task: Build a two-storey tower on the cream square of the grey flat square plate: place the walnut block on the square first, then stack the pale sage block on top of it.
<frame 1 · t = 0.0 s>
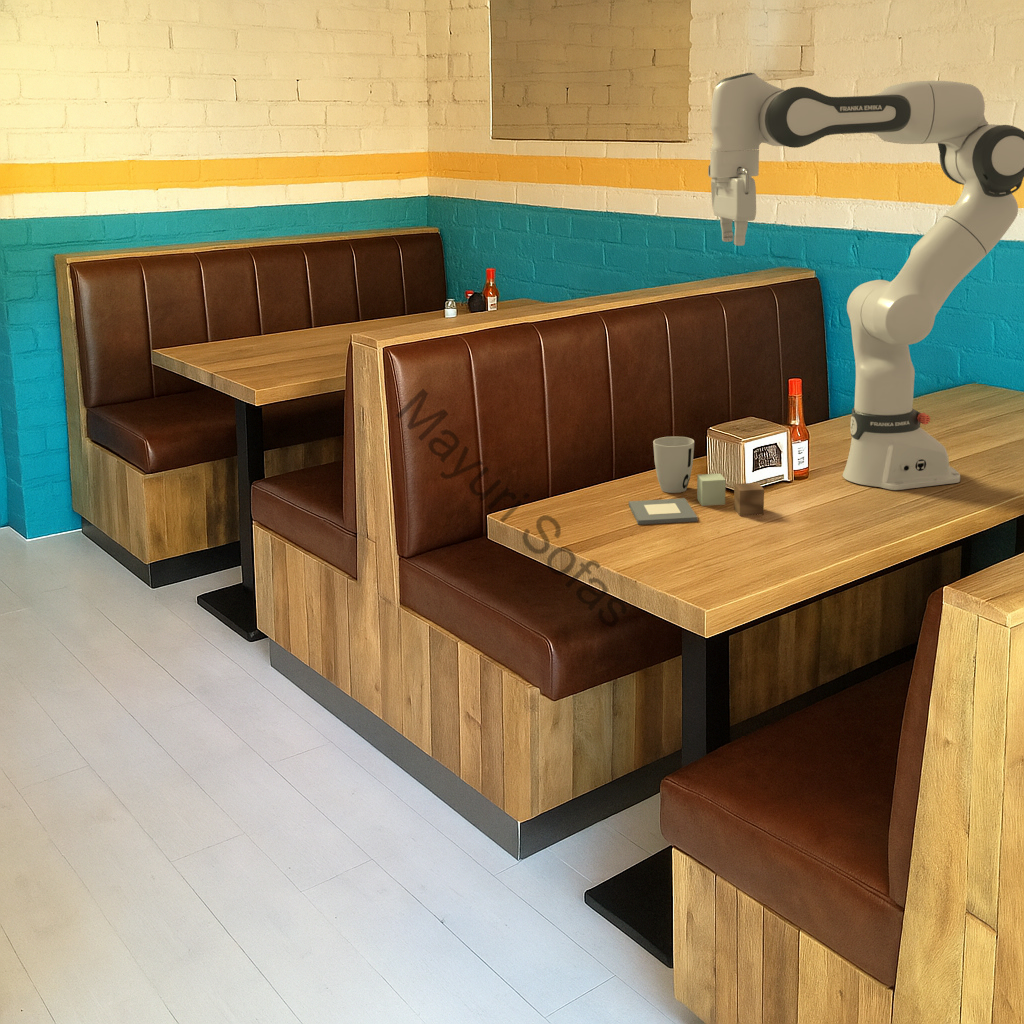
hand: (733, 243, 215), 48 cm above the table, fingers open, 8 cm apart
grey flat square plate: (662, 513, 214), on the table
sage block: (711, 501, 220), on the table
cup: (673, 490, 229), on the table
walnut block: (748, 512, 213), on the table
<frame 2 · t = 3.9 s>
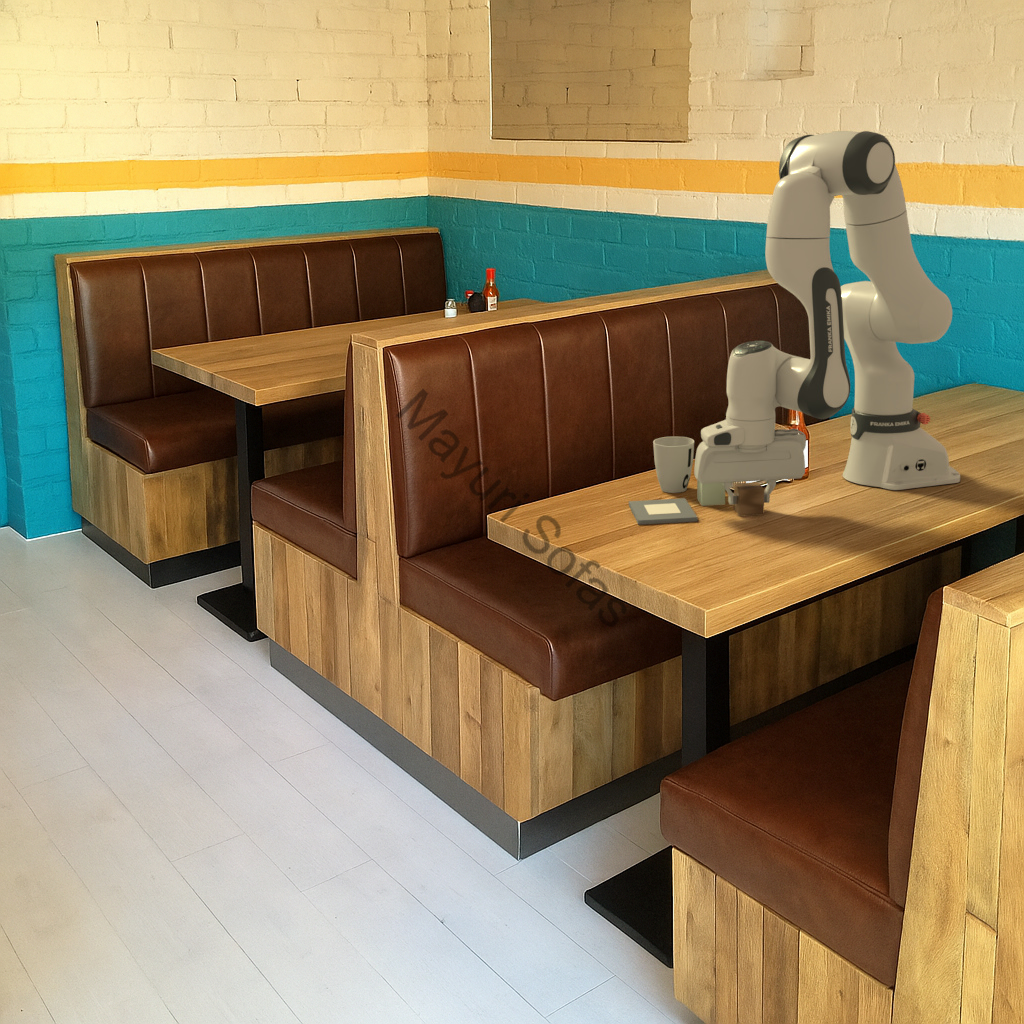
hand: (748, 502, 212), 2 cm above the table, fingers closed on walnut block, 4 cm apart
walnut block: (748, 511, 213), on the table, touching gripper
everything else where it was.
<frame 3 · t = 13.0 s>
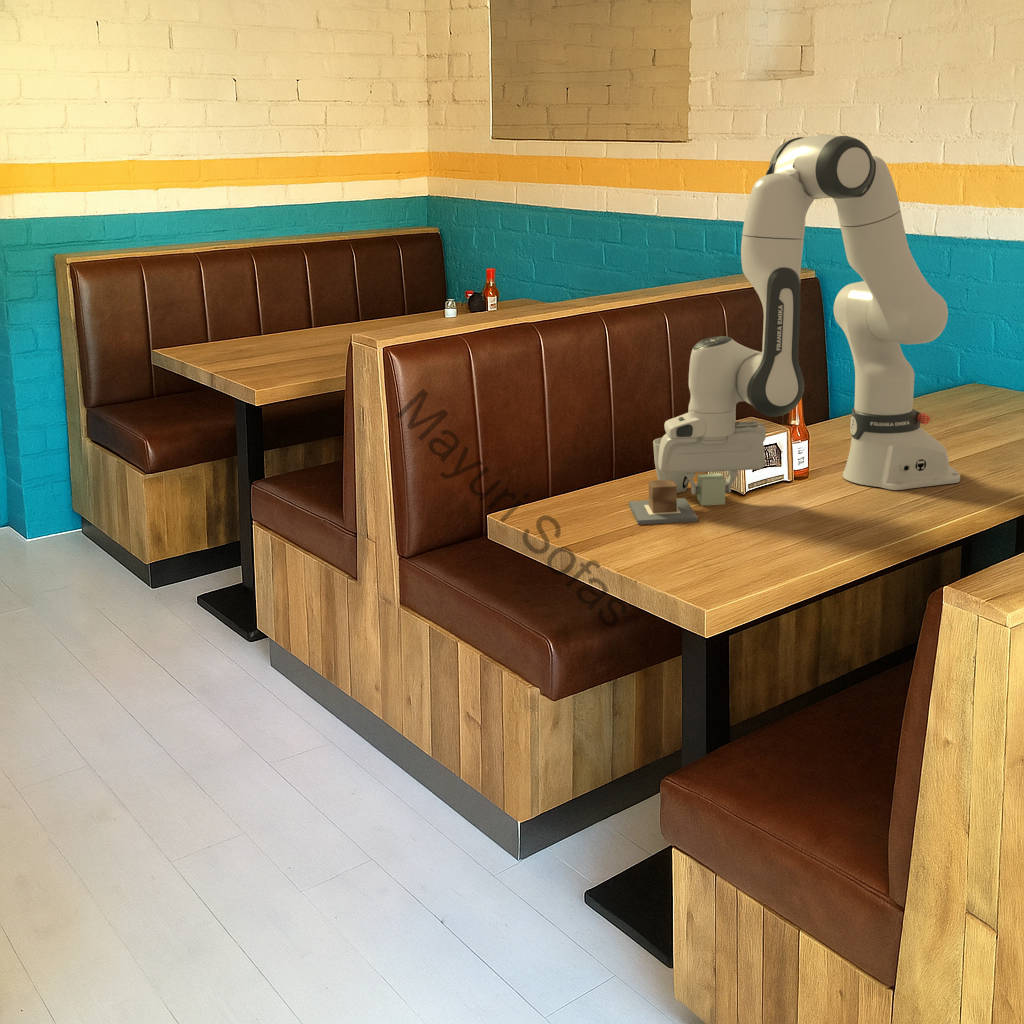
hand: (711, 492, 219), 2 cm above the table, fingers closed on sage block, 4 cm apart
sage block: (711, 501, 220), on the table, touching gripper
walnut block: (662, 508, 214), point 1 cm above the table, touching grey flat square plate
everything else where it was.
when the fingers open (8 cm above the table, at t = 16.9 s): sage block stays where it is, resting on walnut block.
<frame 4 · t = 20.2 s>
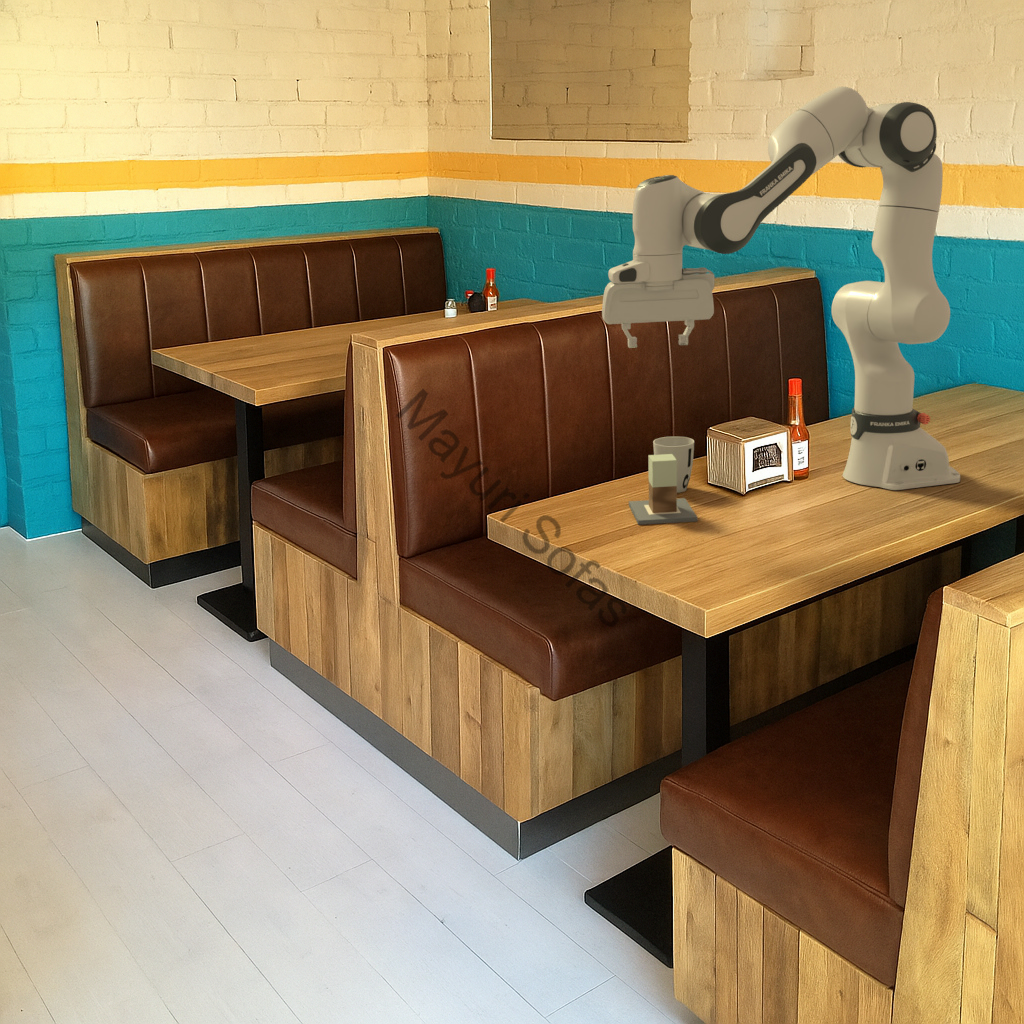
hand: (657, 346, 209), 31 cm above the table, fingers open, 8 cm apart
sage block: (662, 483, 213), point 6 cm above the table, touching walnut block
walnut block: (662, 508, 214), point 1 cm above the table, touching grey flat square plate, sage block
everything else where it was.
at the end: walnut block inside the target area on the grey flat square plate (0.1 cm from its centre), point 0.8 cm above the grey flat square plate's base; sage block 0.1 cm off-centre on the walnut block, point 5.0 cm above the walnut block's base; sage block tilted 0° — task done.
